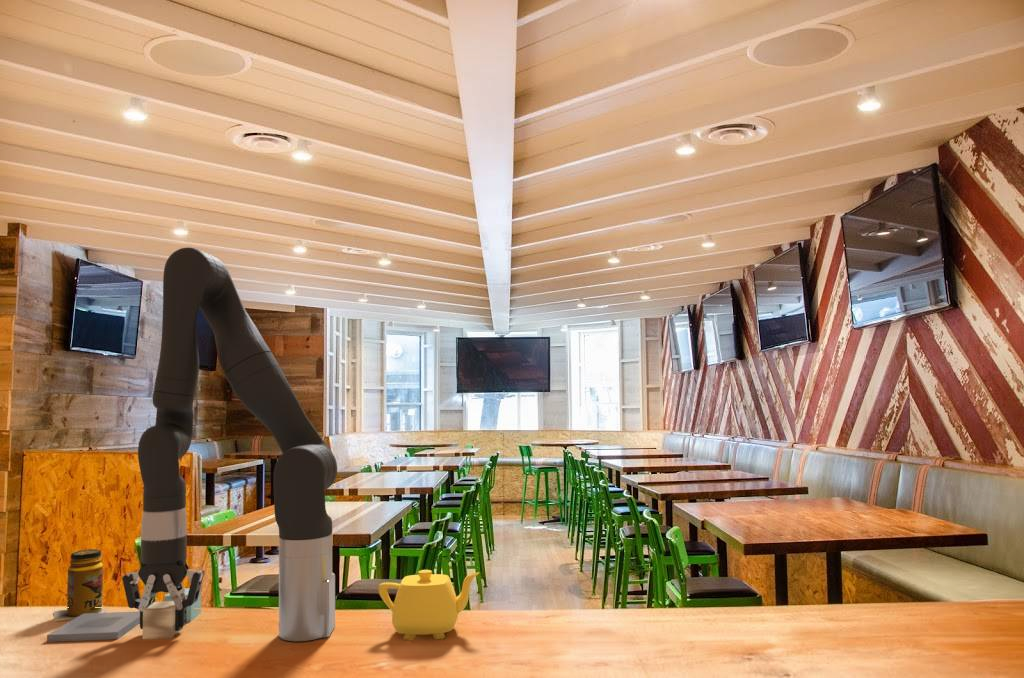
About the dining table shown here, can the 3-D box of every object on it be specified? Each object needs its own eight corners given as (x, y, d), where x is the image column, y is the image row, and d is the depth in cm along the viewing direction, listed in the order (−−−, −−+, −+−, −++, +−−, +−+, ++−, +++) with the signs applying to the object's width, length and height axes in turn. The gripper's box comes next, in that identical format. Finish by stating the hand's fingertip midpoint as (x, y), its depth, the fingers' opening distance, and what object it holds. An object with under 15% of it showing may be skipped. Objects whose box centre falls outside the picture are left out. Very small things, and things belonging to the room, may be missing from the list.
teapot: (480, 620, 133) (479, 561, 134) (479, 641, 122) (478, 577, 123) (383, 623, 133) (382, 564, 134) (373, 645, 122) (373, 580, 123)
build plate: (147, 617, 139) (147, 611, 139) (117, 639, 127) (117, 632, 127) (83, 619, 138) (83, 613, 138) (46, 641, 126) (47, 634, 126)
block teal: (200, 613, 141) (200, 587, 142) (191, 622, 136) (191, 595, 137) (174, 614, 141) (174, 588, 141) (163, 623, 136) (164, 596, 136)
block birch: (182, 628, 132) (183, 600, 133) (171, 638, 127) (172, 609, 128) (154, 629, 132) (155, 601, 132) (142, 639, 127) (143, 610, 127)
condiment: (105, 614, 142) (106, 552, 143) (54, 622, 137) (56, 558, 138) (102, 605, 148) (103, 545, 149) (53, 613, 143) (55, 551, 144)
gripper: (211, 529, 135) (211, 621, 134) (133, 531, 134) (131, 625, 133) (197, 537, 128) (196, 635, 126) (113, 540, 127) (111, 639, 125)
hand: (163, 629), depth 130 cm, fingers closed on block birch, 5 cm apart
